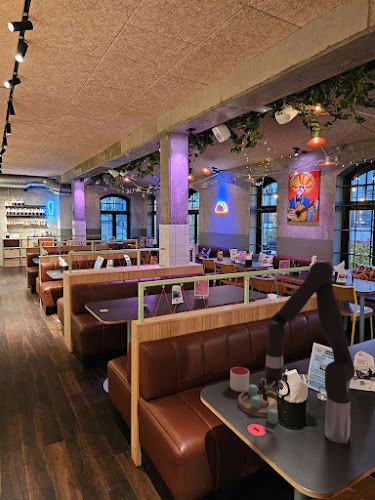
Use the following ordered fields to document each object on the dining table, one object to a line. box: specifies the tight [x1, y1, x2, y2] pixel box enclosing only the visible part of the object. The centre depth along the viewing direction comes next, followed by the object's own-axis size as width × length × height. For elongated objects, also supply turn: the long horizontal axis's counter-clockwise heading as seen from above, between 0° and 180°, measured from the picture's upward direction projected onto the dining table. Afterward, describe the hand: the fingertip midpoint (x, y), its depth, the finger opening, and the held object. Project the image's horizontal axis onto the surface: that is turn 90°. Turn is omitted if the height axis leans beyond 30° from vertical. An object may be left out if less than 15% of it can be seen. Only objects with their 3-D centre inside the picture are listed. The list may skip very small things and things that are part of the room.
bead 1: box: [248, 384, 258, 398], centre depth 177 cm, size 4×4×6 cm
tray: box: [237, 388, 278, 418], centre depth 171 cm, size 23×23×3 cm
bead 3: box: [267, 409, 279, 425], centre depth 156 cm, size 4×4×6 cm
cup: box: [229, 366, 250, 393], centre depth 187 cm, size 10×10×10 cm
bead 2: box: [251, 396, 260, 411], centre depth 165 cm, size 4×4×6 cm
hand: (272, 398), depth 156 cm, fingers open, 8 cm apart
